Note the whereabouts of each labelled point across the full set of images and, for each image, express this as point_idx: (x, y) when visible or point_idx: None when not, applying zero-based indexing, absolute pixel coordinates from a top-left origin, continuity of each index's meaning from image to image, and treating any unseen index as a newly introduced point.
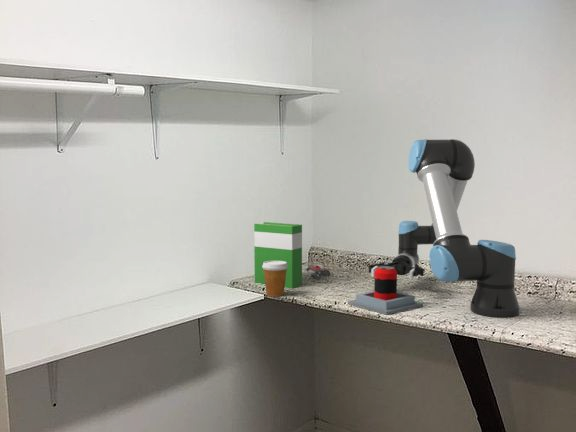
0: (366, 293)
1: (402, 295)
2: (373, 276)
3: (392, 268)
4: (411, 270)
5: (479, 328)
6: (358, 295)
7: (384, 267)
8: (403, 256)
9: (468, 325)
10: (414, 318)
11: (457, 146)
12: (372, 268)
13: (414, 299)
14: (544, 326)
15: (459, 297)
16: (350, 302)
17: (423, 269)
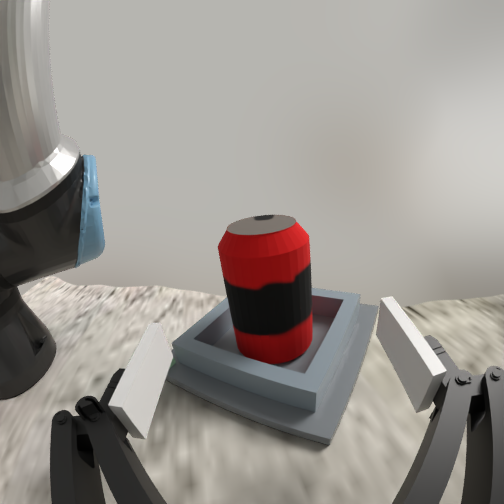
0: (340, 312)
1: (215, 349)
2: (376, 335)
3: (232, 225)
4: (142, 352)
5: (94, 291)
6: (350, 294)
7: (267, 223)
8: None
9: (103, 296)
10: (187, 295)
11: None
12: (401, 309)
13: (175, 352)
14: None
15: (18, 485)
16: (367, 305)
17: (57, 414)
